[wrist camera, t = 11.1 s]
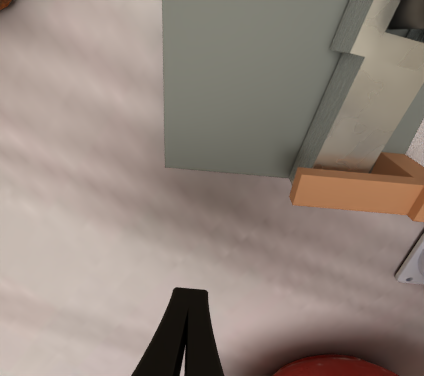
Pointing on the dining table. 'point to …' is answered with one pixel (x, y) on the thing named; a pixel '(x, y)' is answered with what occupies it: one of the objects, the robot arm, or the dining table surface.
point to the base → (257, 80)
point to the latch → (363, 90)
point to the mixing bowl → (332, 367)
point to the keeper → (365, 188)
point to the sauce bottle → (4, 3)
